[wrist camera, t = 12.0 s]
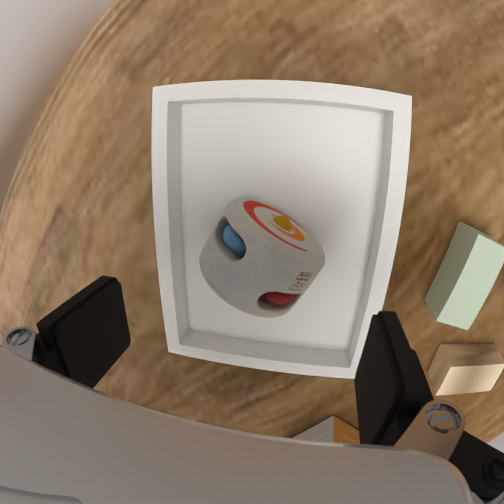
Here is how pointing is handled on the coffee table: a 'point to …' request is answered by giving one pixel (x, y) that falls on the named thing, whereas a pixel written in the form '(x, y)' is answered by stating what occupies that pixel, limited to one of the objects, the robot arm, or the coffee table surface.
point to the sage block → (465, 277)
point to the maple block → (465, 368)
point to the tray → (286, 200)
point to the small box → (331, 432)
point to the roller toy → (260, 258)
